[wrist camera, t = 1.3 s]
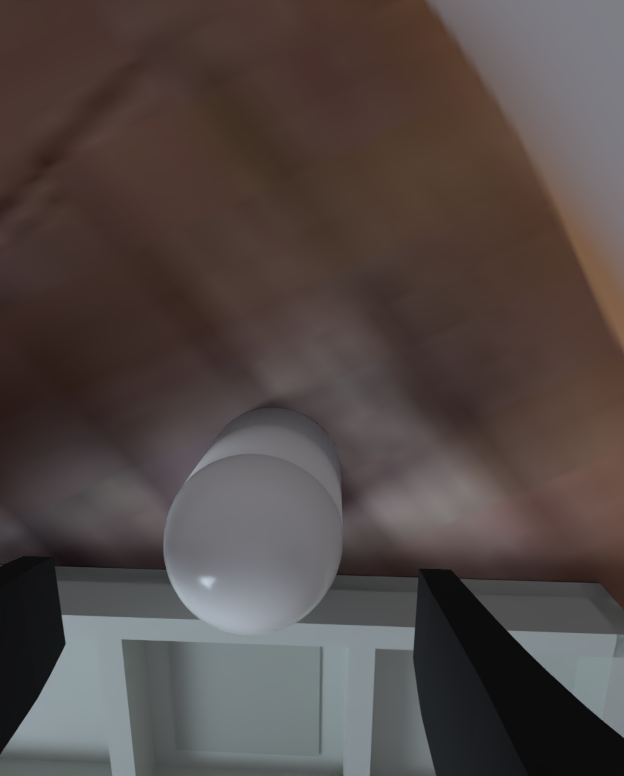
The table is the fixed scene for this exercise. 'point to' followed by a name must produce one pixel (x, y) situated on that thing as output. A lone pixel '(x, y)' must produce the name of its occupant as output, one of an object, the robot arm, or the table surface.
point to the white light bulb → (258, 524)
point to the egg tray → (279, 678)
